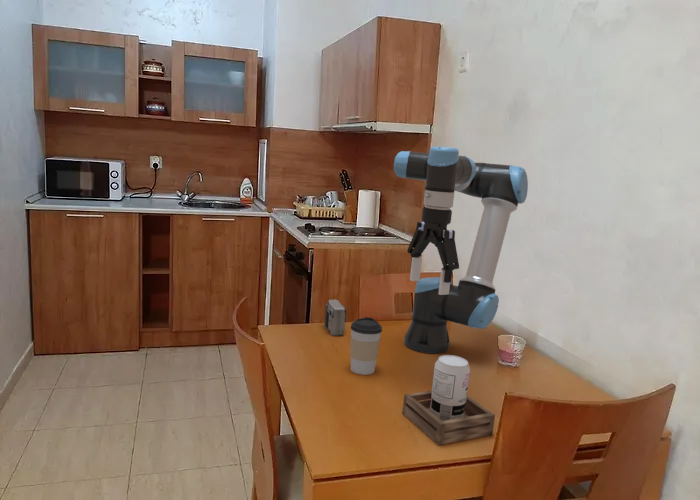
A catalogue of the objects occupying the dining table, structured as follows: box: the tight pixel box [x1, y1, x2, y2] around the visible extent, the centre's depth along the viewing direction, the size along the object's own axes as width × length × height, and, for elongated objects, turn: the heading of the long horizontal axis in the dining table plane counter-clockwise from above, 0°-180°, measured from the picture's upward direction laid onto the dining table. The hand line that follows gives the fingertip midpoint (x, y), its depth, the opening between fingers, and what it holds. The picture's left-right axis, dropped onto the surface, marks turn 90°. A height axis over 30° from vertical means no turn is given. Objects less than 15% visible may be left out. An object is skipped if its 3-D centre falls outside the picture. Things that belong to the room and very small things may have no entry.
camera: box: [324, 299, 347, 337], centre depth 193 cm, size 11×6×10 cm, turn 14°
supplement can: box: [430, 354, 471, 421], centre depth 133 cm, size 8×8×15 cm
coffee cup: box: [349, 316, 383, 376], centre depth 161 cm, size 9×9×15 cm
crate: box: [401, 390, 496, 446], centre depth 134 cm, size 15×15×5 cm
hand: (428, 287), depth 148 cm, fingers open, 13 cm apart
